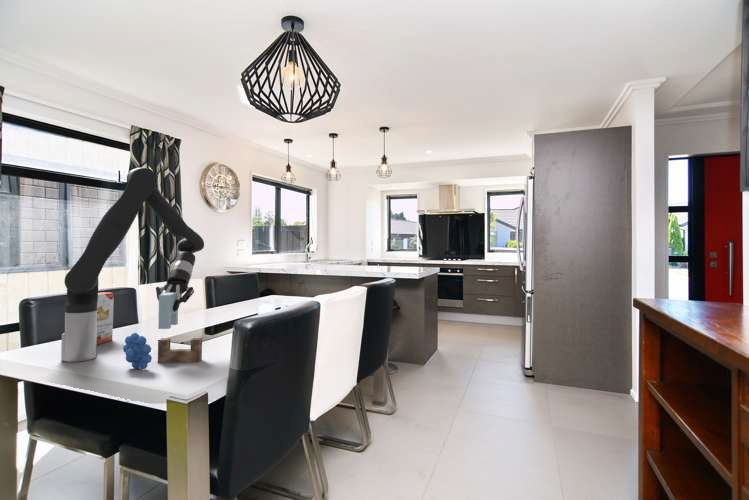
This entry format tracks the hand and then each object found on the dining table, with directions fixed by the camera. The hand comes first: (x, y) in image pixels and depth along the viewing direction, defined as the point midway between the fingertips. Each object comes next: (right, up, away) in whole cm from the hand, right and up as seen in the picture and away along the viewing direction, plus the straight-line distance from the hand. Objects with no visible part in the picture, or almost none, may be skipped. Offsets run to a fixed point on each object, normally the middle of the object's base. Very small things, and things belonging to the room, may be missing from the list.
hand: (168, 310), depth 140 cm
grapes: (-5, -18, -12) cm, 22 cm away
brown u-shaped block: (+5, -18, -1) cm, 19 cm away
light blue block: (0, -6, +1) cm, 6 cm away
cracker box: (-42, -17, +20) cm, 50 cm away
